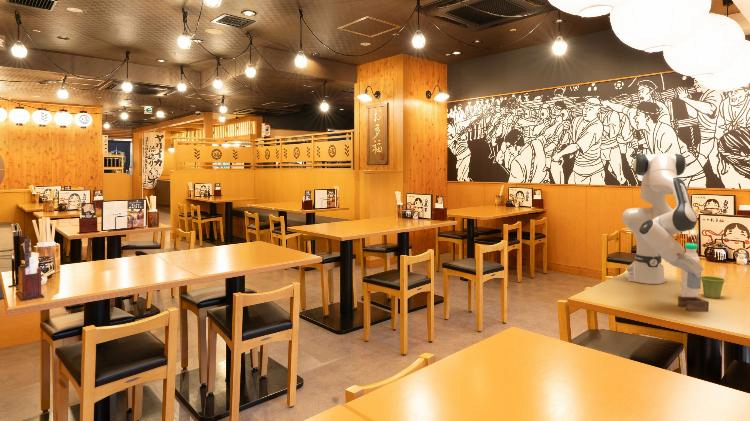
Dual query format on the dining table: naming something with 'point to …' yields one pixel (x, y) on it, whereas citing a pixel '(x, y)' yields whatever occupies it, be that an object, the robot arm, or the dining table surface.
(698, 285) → the grey tall block
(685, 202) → the robot arm
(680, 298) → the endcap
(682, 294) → the water bottle
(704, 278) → the plant pot
